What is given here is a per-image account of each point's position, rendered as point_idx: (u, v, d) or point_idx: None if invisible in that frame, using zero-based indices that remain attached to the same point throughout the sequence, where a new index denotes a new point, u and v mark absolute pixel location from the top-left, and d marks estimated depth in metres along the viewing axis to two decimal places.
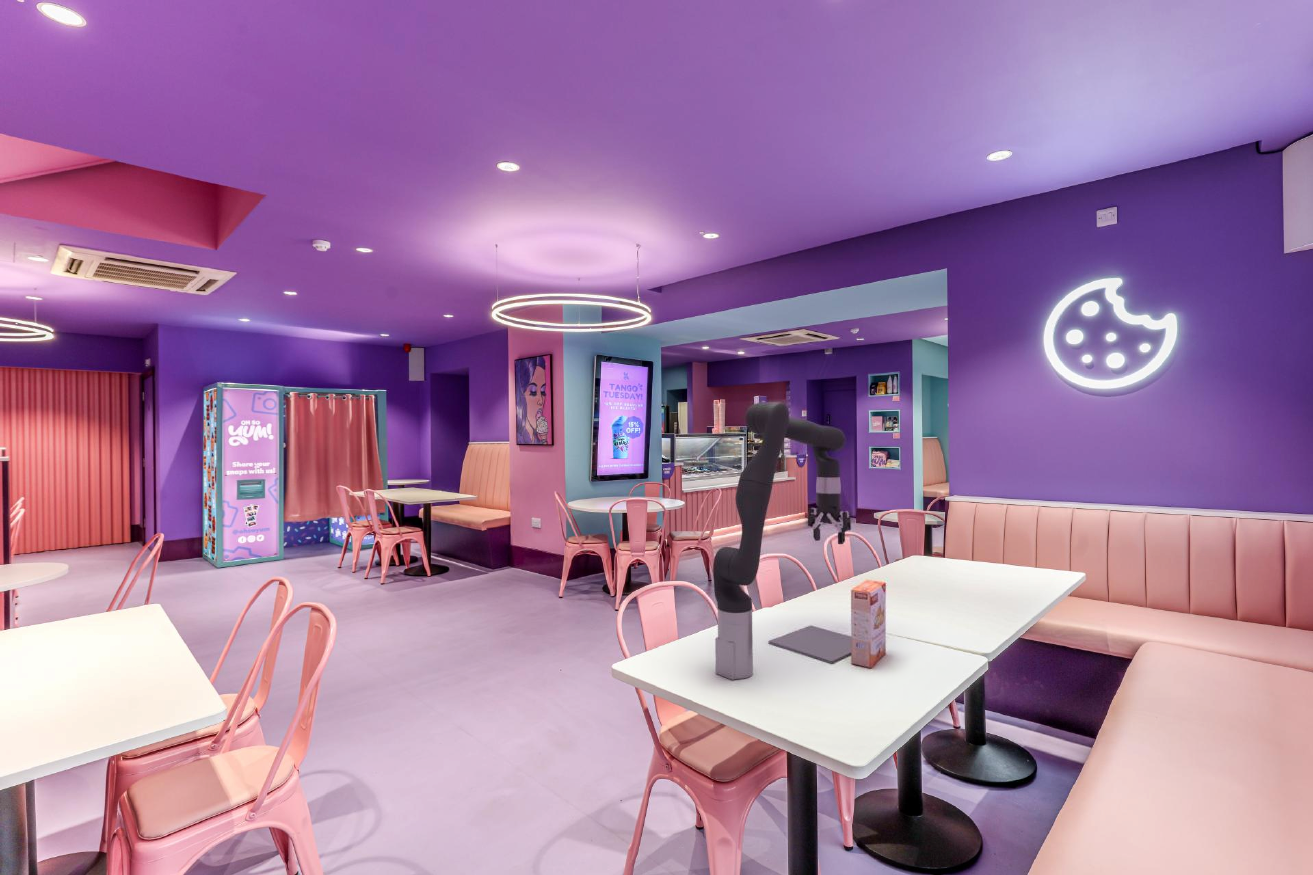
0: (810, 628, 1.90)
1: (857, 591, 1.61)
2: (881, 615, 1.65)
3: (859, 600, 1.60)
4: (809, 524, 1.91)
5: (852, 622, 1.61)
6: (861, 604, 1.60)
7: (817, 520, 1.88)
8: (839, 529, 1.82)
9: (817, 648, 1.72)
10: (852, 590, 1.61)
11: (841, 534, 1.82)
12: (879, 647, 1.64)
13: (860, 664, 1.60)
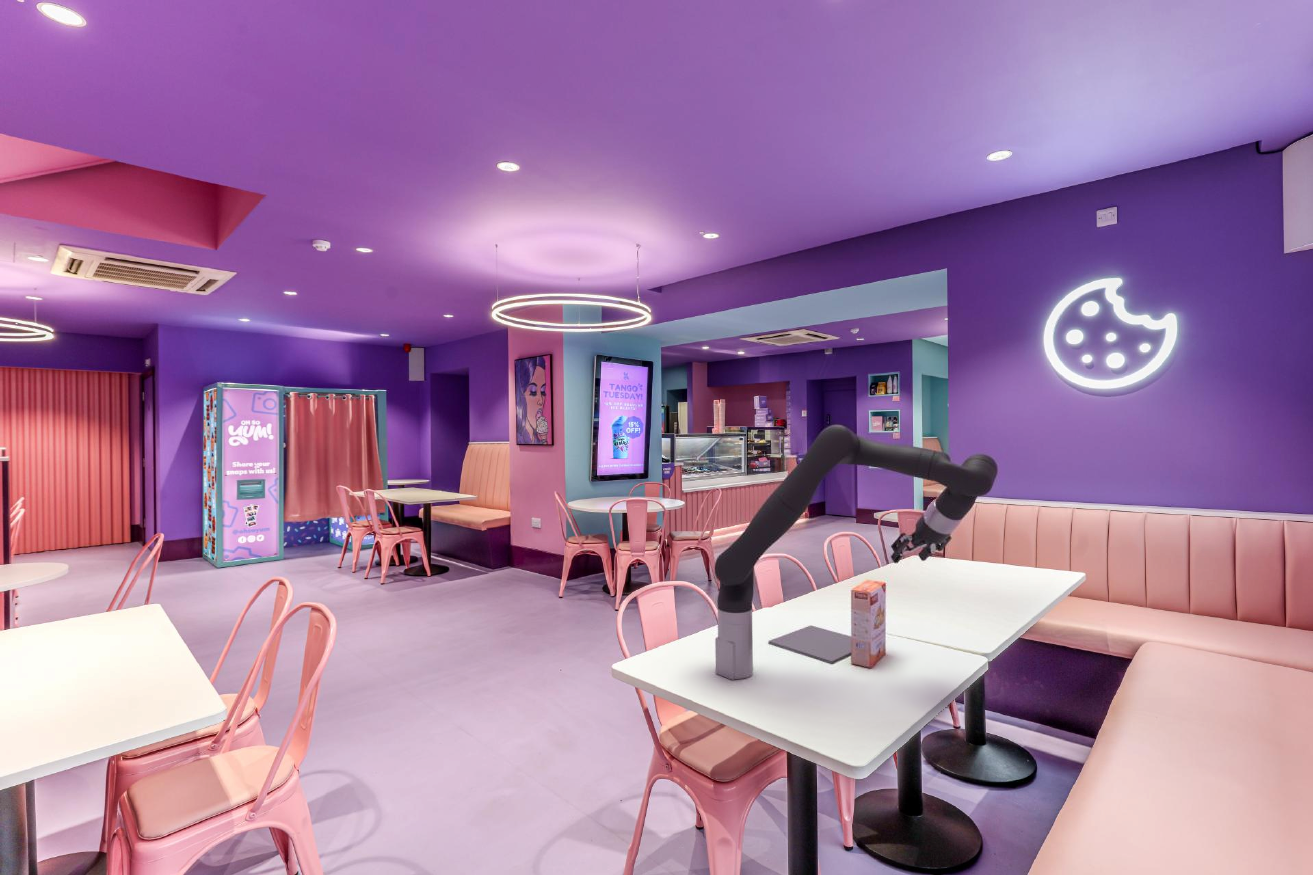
0: (810, 628, 1.90)
1: (857, 591, 1.61)
2: (881, 615, 1.65)
3: (859, 600, 1.60)
4: None
5: (852, 622, 1.61)
6: (861, 604, 1.60)
7: None
8: None
9: (817, 648, 1.72)
10: (852, 590, 1.61)
11: None
12: (879, 647, 1.64)
13: (860, 664, 1.60)
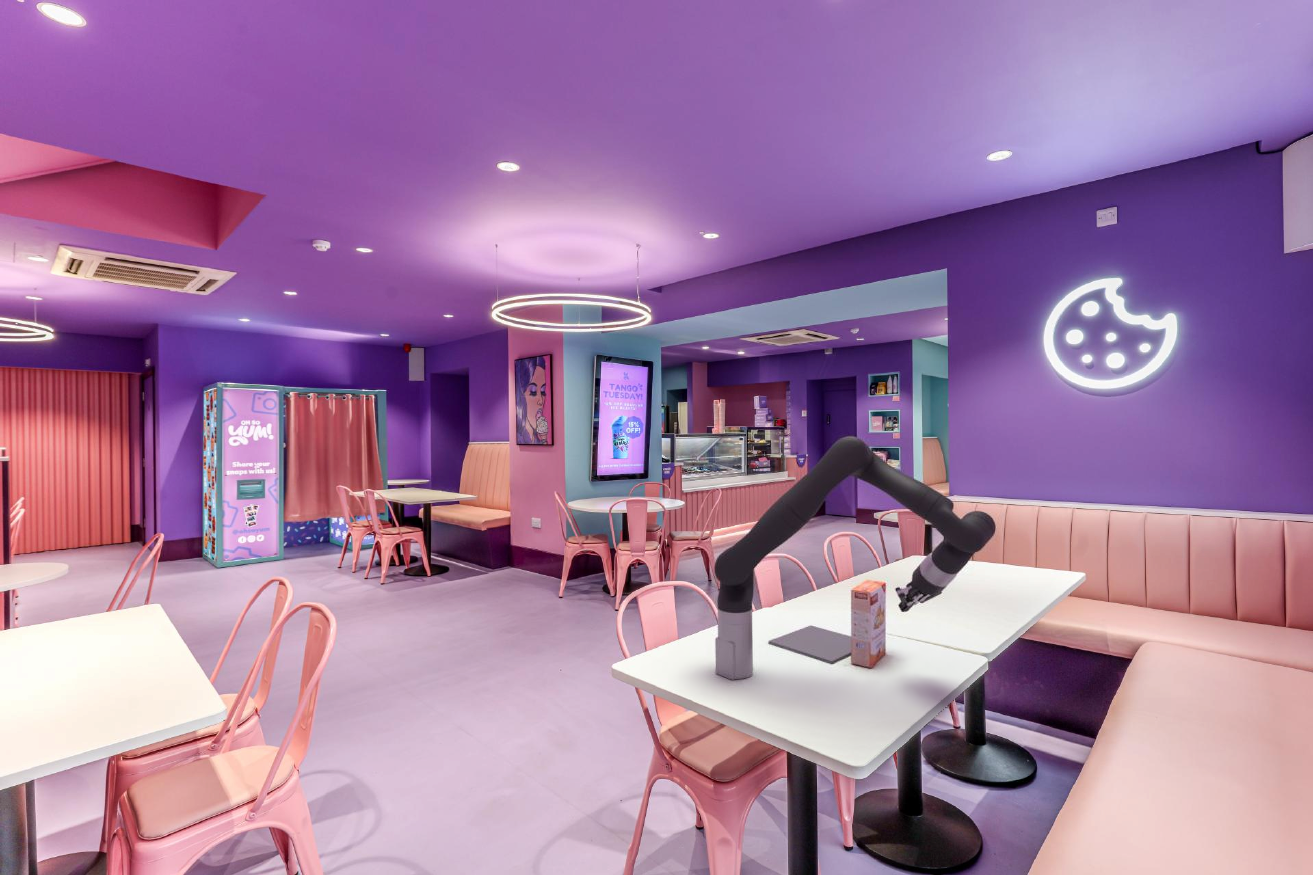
0: (810, 628, 1.90)
1: (857, 591, 1.61)
2: (881, 615, 1.65)
3: (859, 600, 1.60)
4: None
5: (852, 622, 1.61)
6: (861, 604, 1.60)
7: None
8: None
9: (817, 648, 1.72)
10: (852, 590, 1.61)
11: None
12: (879, 647, 1.64)
13: (860, 664, 1.60)
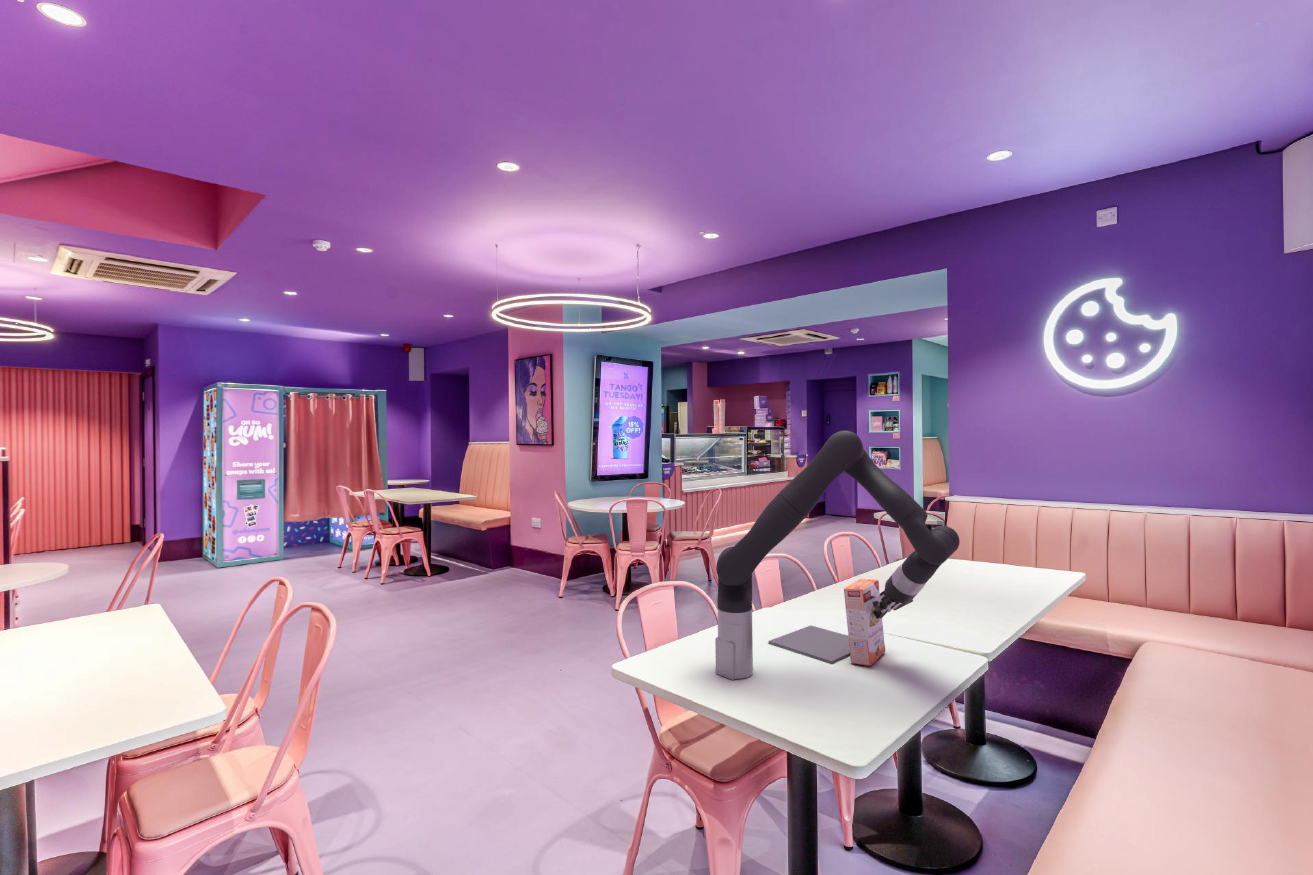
0: (810, 628, 1.90)
1: (850, 589, 1.62)
2: None
3: (852, 598, 1.61)
4: None
5: (848, 621, 1.62)
6: (855, 602, 1.61)
7: None
8: None
9: (817, 648, 1.72)
10: (845, 589, 1.63)
11: None
12: (878, 645, 1.64)
13: (860, 663, 1.60)
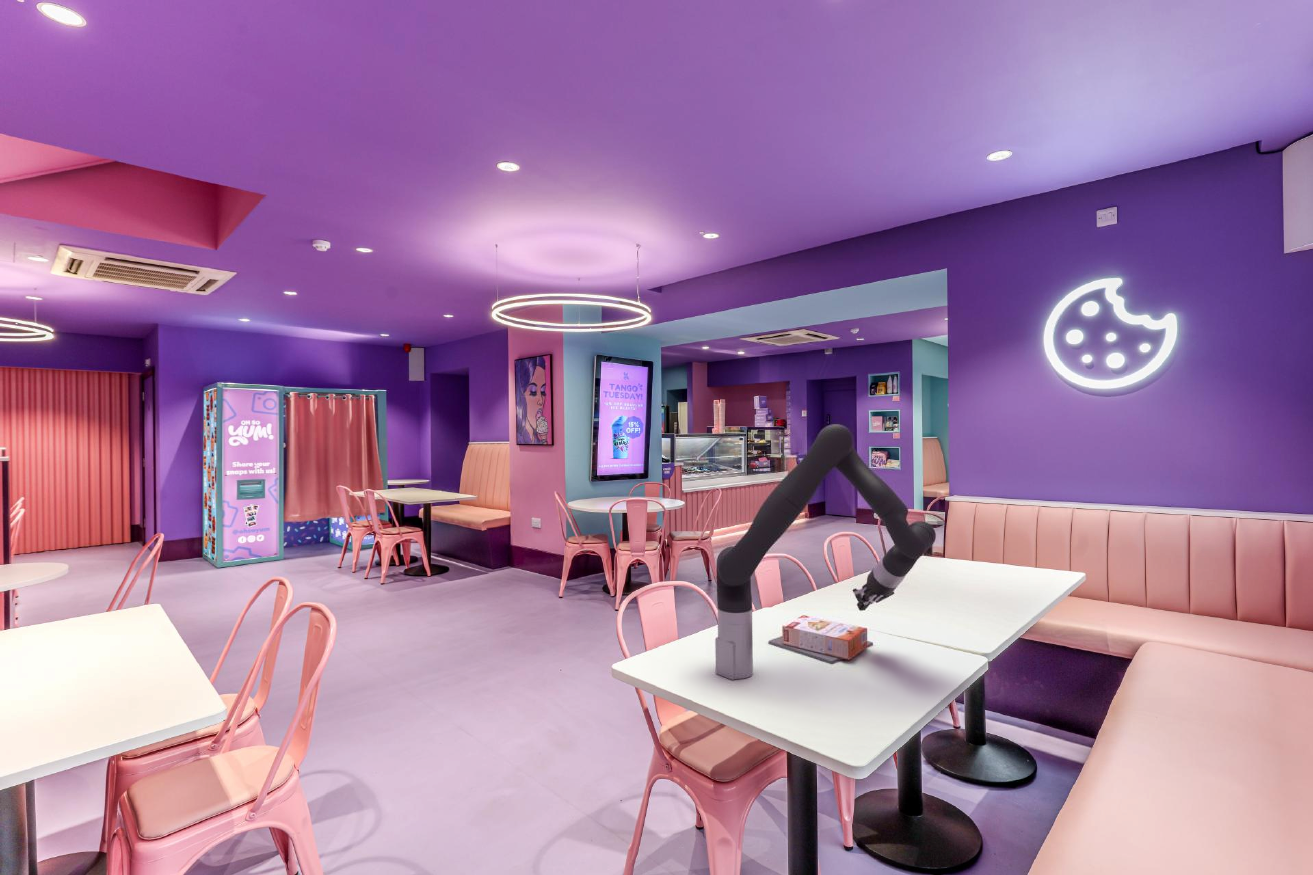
0: None
1: (783, 637, 1.75)
2: (820, 623, 1.77)
3: (790, 637, 1.74)
4: None
5: (810, 649, 1.70)
6: (793, 636, 1.73)
7: None
8: None
9: None
10: (783, 642, 1.75)
11: None
12: (846, 630, 1.70)
13: (847, 650, 1.62)
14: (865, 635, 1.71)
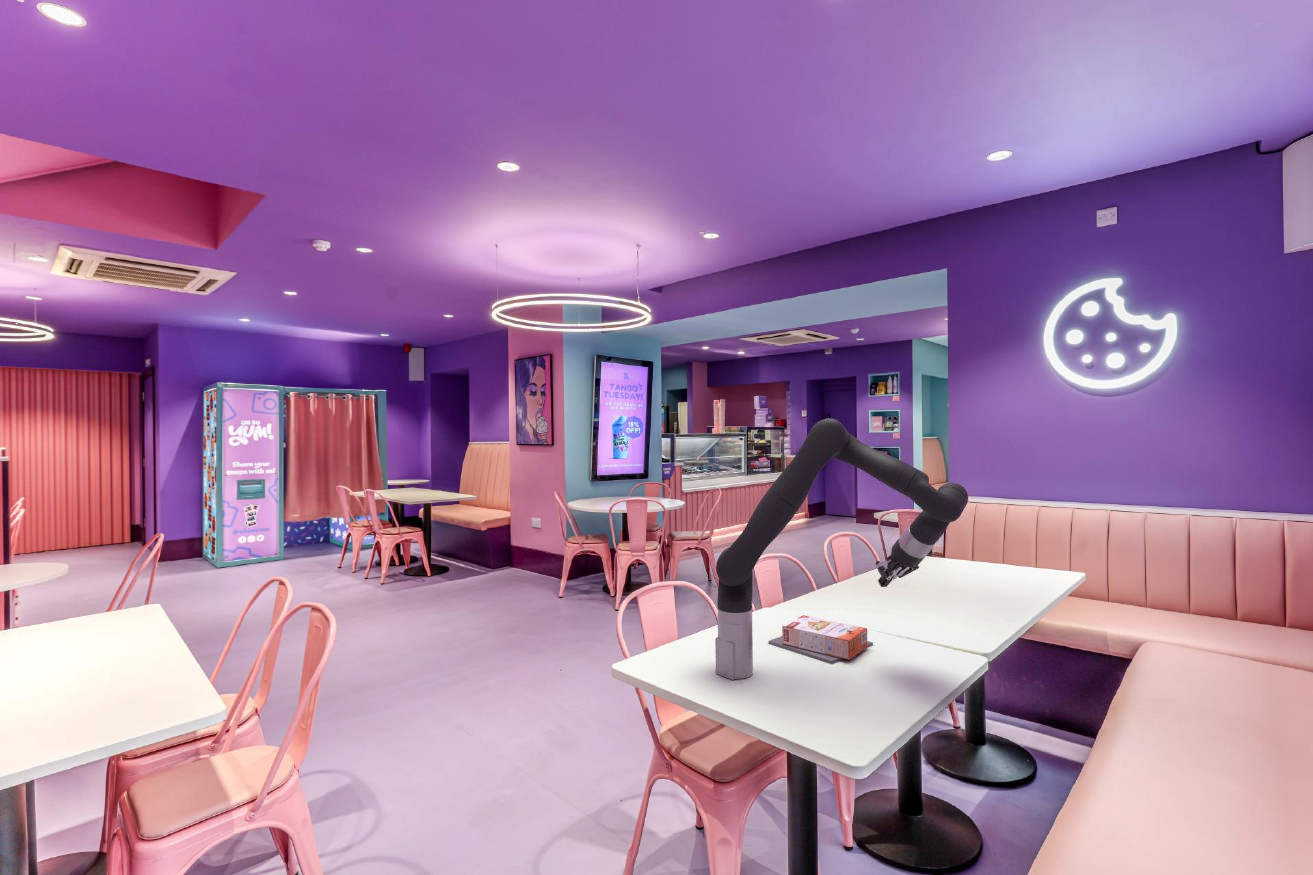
0: None
1: (783, 637, 1.75)
2: (820, 623, 1.77)
3: (790, 637, 1.74)
4: None
5: (810, 649, 1.70)
6: (793, 636, 1.73)
7: None
8: None
9: None
10: (783, 642, 1.75)
11: None
12: (846, 630, 1.70)
13: (847, 649, 1.62)
14: (865, 635, 1.71)
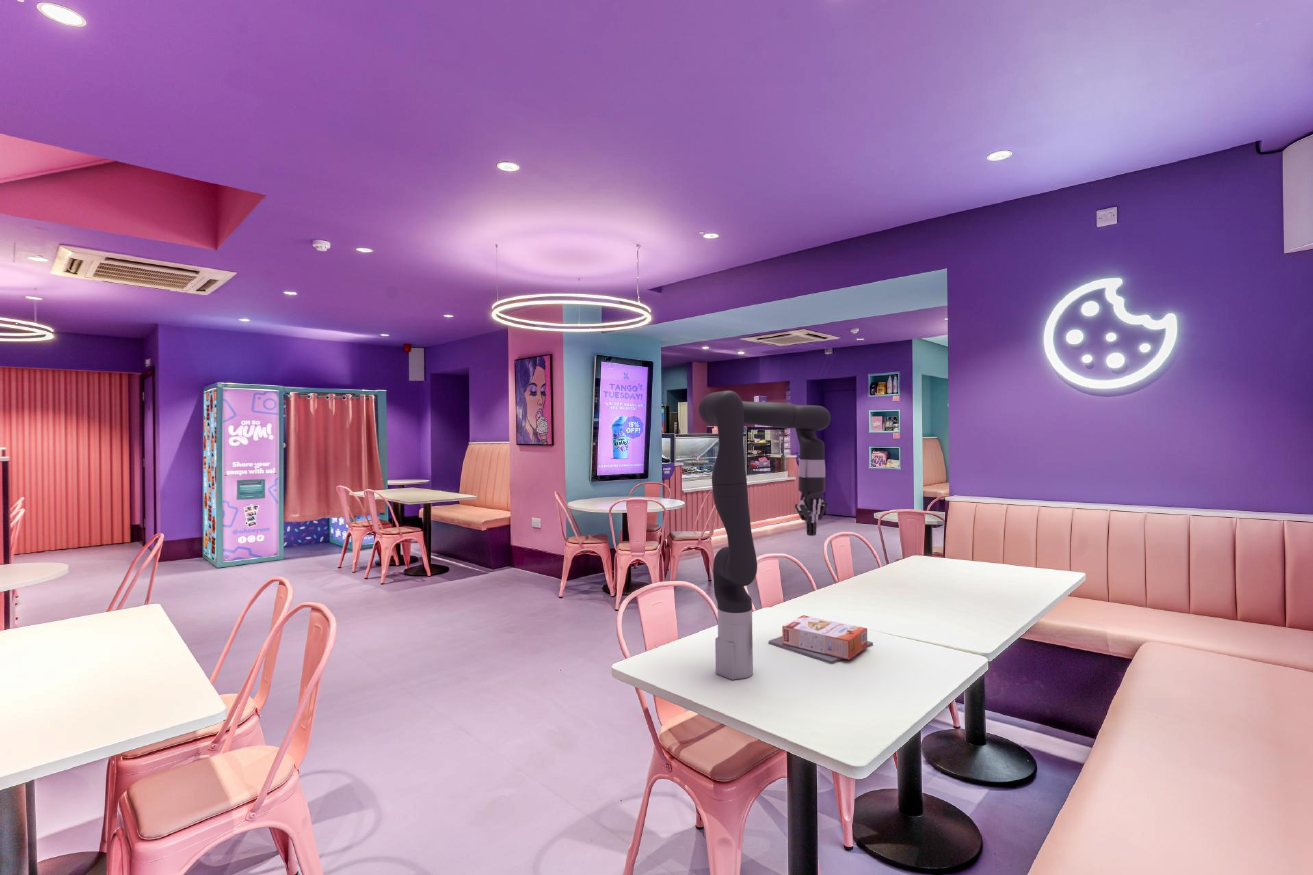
0: None
1: (783, 637, 1.75)
2: (820, 623, 1.77)
3: (790, 637, 1.74)
4: None
5: (810, 649, 1.70)
6: (793, 636, 1.73)
7: None
8: None
9: None
10: (783, 642, 1.75)
11: None
12: (846, 630, 1.70)
13: (847, 649, 1.62)
14: (865, 635, 1.71)
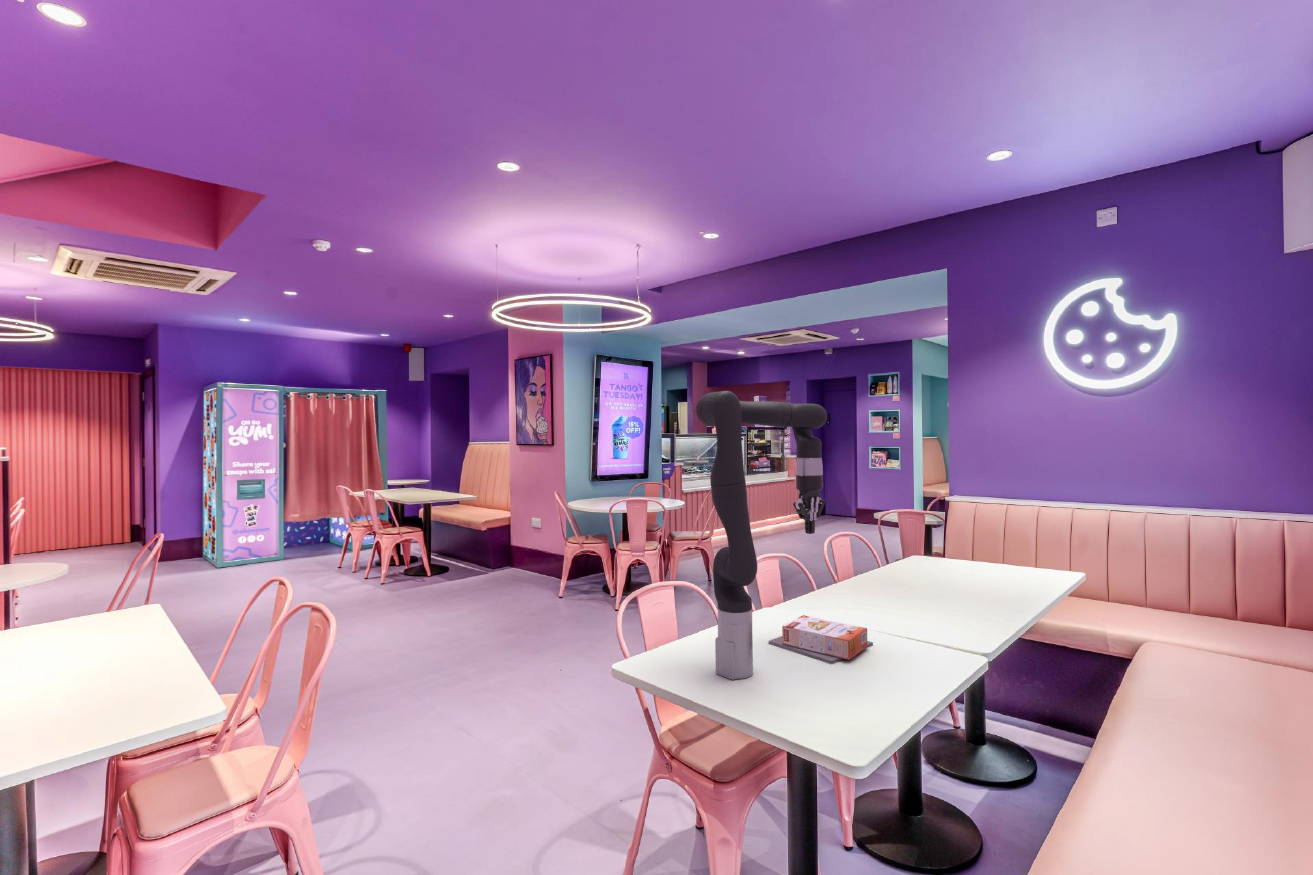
0: None
1: (783, 637, 1.75)
2: (820, 623, 1.77)
3: (790, 637, 1.74)
4: None
5: (810, 649, 1.70)
6: (793, 636, 1.73)
7: None
8: None
9: None
10: (783, 642, 1.75)
11: None
12: (846, 630, 1.70)
13: (847, 649, 1.62)
14: (865, 635, 1.71)
